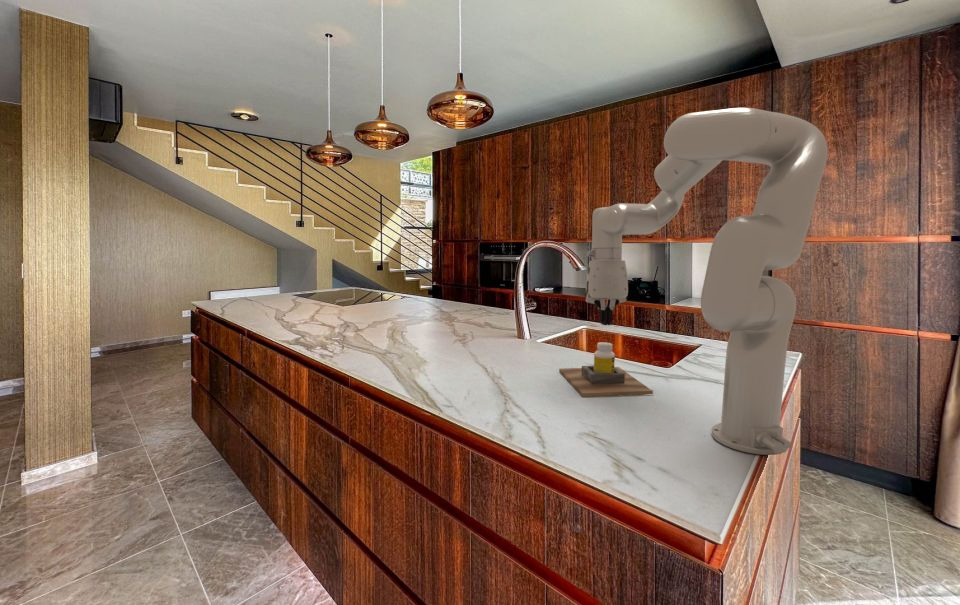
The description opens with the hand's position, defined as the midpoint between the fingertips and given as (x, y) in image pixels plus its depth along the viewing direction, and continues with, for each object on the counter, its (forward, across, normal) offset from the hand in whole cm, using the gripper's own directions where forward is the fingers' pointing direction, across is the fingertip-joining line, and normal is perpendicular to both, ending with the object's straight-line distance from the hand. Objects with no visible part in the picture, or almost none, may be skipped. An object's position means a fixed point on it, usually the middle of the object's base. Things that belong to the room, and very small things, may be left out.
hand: (605, 324), depth 120 cm
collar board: (+16, 0, +1) cm, 16 cm away
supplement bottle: (+15, 0, +1) cm, 15 cm away
